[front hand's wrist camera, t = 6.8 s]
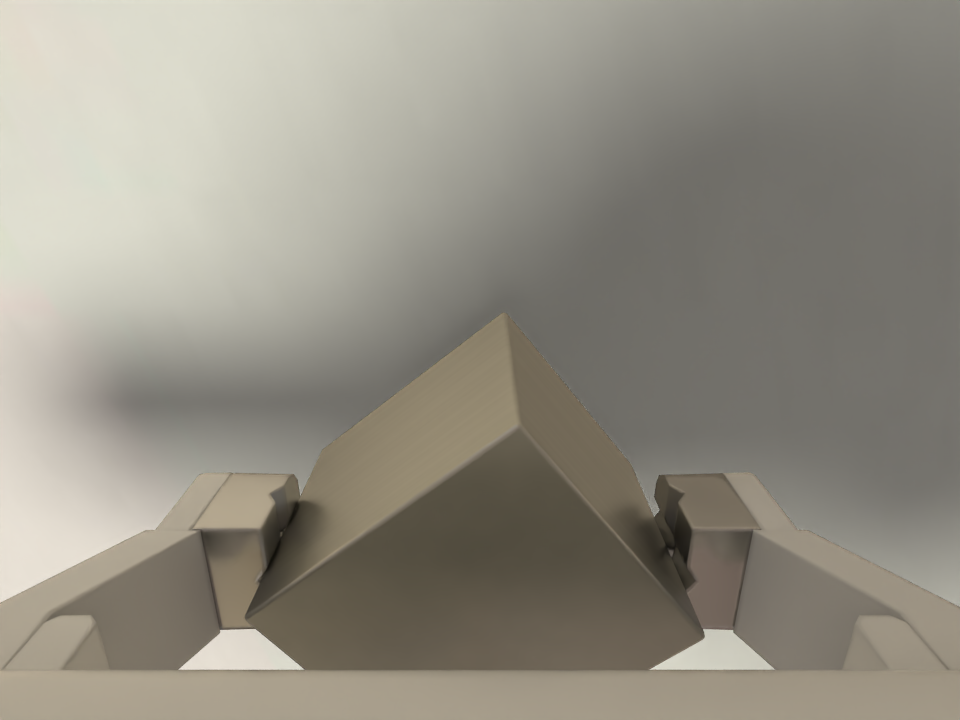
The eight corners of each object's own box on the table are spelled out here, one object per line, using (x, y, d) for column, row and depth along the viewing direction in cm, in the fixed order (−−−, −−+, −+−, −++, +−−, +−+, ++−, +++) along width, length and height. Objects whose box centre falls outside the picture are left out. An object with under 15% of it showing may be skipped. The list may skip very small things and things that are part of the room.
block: (320, 449, 12) (241, 619, 8) (504, 309, 11) (519, 423, 7) (454, 580, 13) (443, 786, 9) (631, 465, 12) (708, 639, 8)
